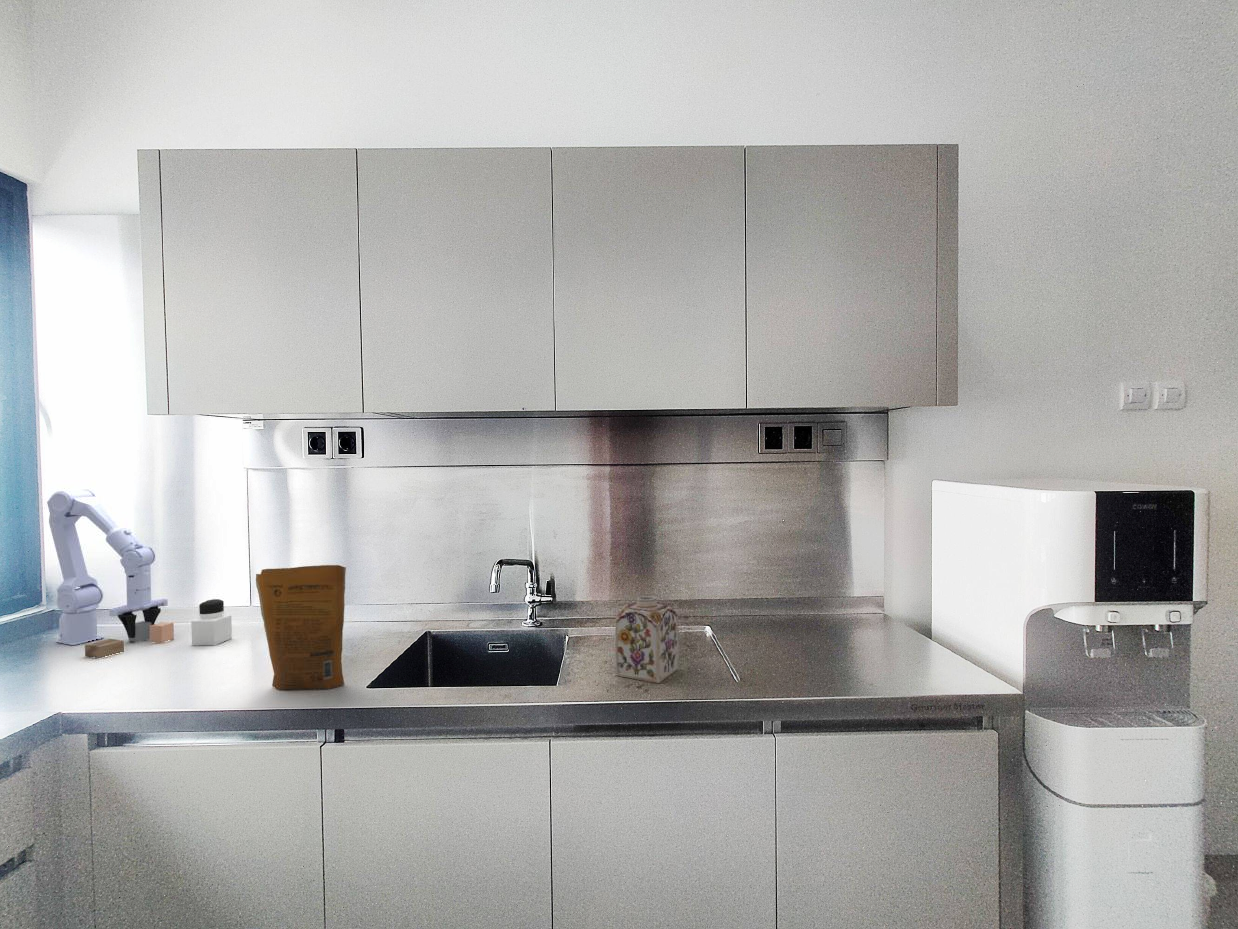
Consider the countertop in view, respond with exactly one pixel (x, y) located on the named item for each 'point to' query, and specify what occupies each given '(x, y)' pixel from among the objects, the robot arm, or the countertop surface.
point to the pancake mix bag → (304, 624)
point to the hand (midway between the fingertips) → (140, 635)
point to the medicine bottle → (211, 624)
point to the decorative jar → (646, 640)
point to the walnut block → (104, 648)
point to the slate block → (141, 631)
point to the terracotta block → (161, 632)
